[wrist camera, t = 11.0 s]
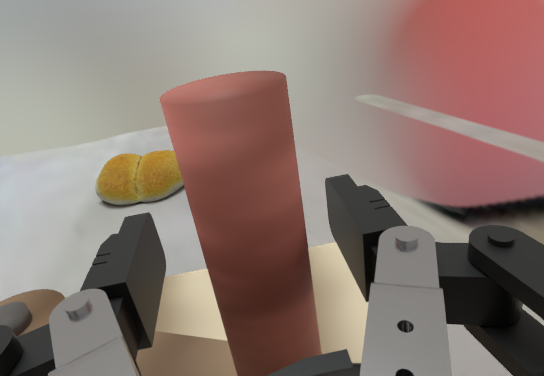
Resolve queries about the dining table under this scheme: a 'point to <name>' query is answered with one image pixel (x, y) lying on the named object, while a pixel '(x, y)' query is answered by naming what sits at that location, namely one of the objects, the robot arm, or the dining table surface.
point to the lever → (230, 232)
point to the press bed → (327, 292)
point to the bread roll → (139, 178)
